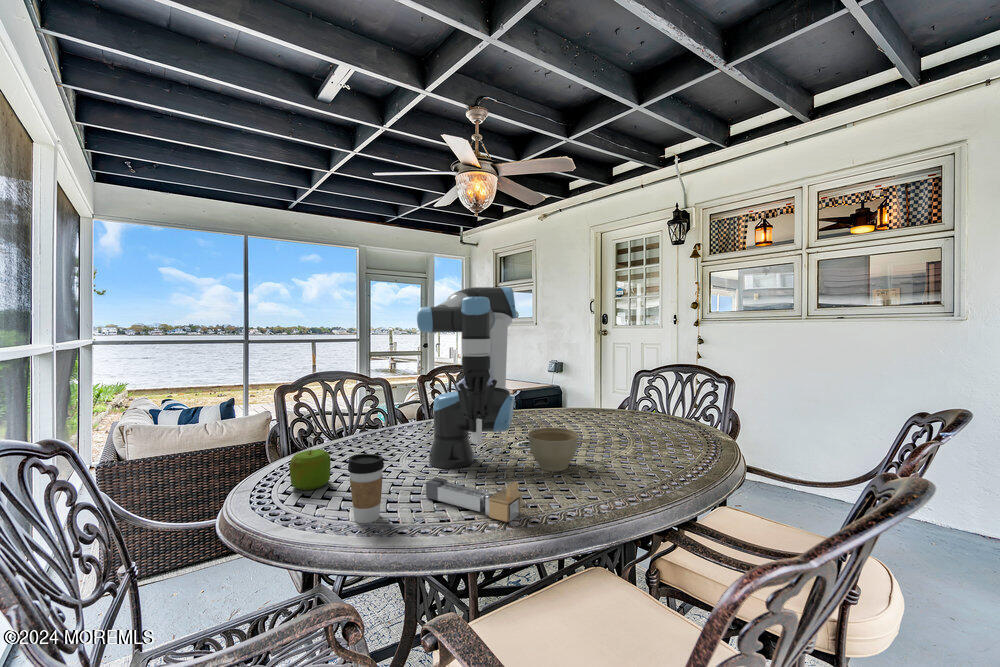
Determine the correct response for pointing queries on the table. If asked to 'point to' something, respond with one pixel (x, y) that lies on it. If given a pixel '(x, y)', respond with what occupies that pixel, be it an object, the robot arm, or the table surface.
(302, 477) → the apple
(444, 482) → the bar
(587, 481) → the table surface
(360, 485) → the coffee cup
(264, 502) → the table surface
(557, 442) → the planter bowl
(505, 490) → the collar
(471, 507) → the tongs fixed
